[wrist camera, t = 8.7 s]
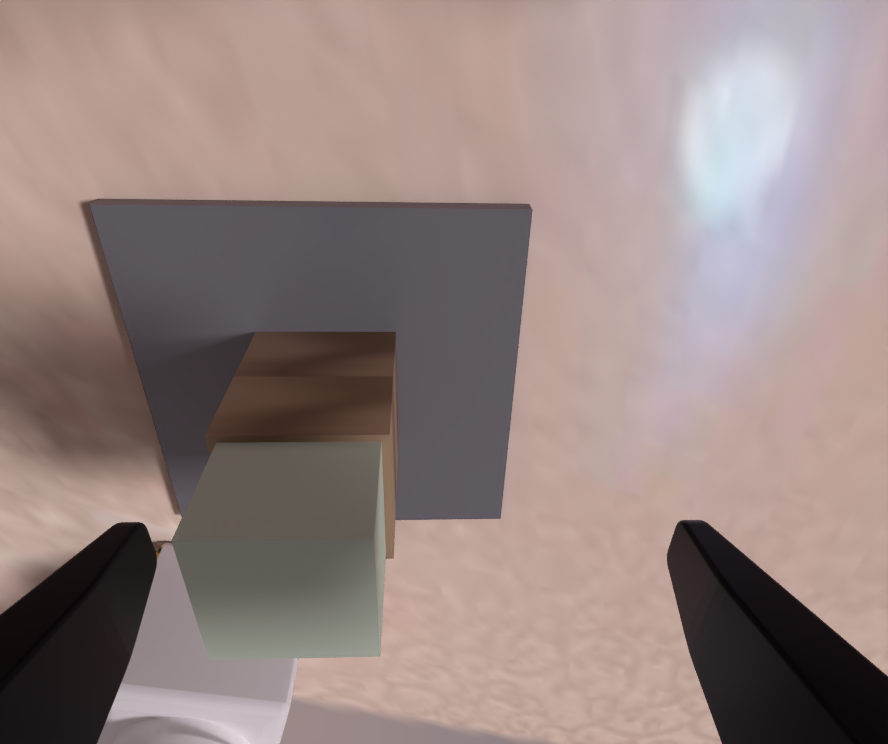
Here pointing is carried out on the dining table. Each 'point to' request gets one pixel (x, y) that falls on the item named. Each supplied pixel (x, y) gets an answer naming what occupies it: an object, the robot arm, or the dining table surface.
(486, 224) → the plate
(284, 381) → the tower top
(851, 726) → the robot arm
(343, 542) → the sage block
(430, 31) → the dining table surface
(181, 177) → the dining table surface
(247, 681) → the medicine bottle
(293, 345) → the tower base
